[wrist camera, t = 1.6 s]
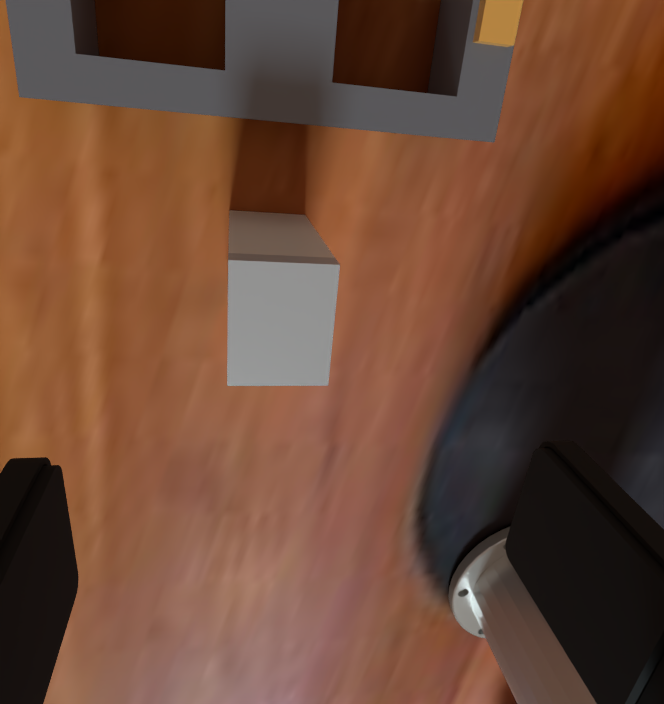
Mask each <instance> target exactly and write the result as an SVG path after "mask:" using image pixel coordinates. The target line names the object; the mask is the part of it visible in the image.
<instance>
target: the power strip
mask: <svg viewBox="0 0 664 704" xmlns="http://www.w3.org/2000/svg"><path fill="white" fill-rule="evenodd" d="M338 3H339V0H225V70H216V69H207V68H198V67H189V66H180V65H171V64H163V63H154V62H145V61H136V60H127V59H118V58H109V57H100V56H99V49H98V37H97V25H96V13H95V1H94V0H6V6H7V13H8V20H9V27H10V34H11V41H12V48H13V55H14V62H15V69H16V76H17V83H18V90H19V97H25V98H35V99H46V100H56V101H66V102H77V103H87V104H98V105H108V106H119V107H129V108H140V109H150V110H161V111H171V112H182V113H192V114H202V115H213V116H223V117H234V118H244V119H255V120H265V121H276V122H286V123H297V124H307V125H318V126H328V127H339V128H349V129H359V130H370V131H380V132H391V133H401V134H412V135H422V136H433V137H443V138H454V139H464V140H475V141H485V142H495V137H496V132H497V127H498V122H499V118H500V113H501V108H502V103H503V98H504V93H505V88H506V83H507V78H508V73H509V68H510V63H511V58H512V53H513V49H514V44H515V39H516V34H517V29H518V24H519V19H520V14H521V9H522V4H523V0H441V4H440V11H439V18H438V25H437V31H436V38H435V45H434V51H433V58H432V65H431V72H430V78H429V85H428V92H427V93H421V92H412V91H403V90H394V89H385V88H376V87H367V86H358V85H349V84H341V83H332V78H333V66H334V53H335V41H336V28H337V16H338Z"/></svg>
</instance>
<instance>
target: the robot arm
mask: <svg viewBox="0 0 664 704" xmlns="http://www.w3.org/2000/svg"><path fill="white" fill-rule="evenodd" d="M77 588H78V569H77V563H76V557H75V550H74V544H73V538H72V531H71V525H70V519H69V512H68V506H67V499H66V493H65V487H64V480H63V474H62V469H61V467H60V466H59V465H53V466H51V463H50V461H49V459H48V458H46V457H45V458H14V459H10V460H9V461H8V462H7V464H6V465H5V467H4V468H3V470H2V472H1V473H0V704H43V702H44V699H45V696H46V692H47V689H48V686H49V683H50V679H51V676H52V673H53V670H54V666H55V663H56V660H57V656H58V653H59V650H60V647H61V643H62V640H63V637H64V634H65V630H66V627H67V624H68V620H69V617H70V614H71V611H72V607H73V604H74V601H75V598H76V594H77ZM448 598H449V603H450V607H451V609H452V611H453V614H454V616H455V618H456V620H457V622H458V623H459V624H460V625H461V627H462V628H464V629H465V630H466V631H468V632H469V633H471V634H473V635H475V636H478V637H482V638H486V639H487V642H488V644H489V646H490V648H491V650H492V652H493V654H494V656H495V658H496V660H497V662H498V665H499V667H500V669H501V671H502V673H503V675H504V677H505V679H506V681H507V683H508V685H509V688H510V690H511V692H512V694H513V696H514V698H515V700H516V702H517V704H664V529H663V528H662V527H661V526H660V525H658V524H657V523H656V522H655V521H654V520H653V519H652V518H651V517H650V516H649V515H648V514H647V513H646V512H645V511H644V510H643V509H642V508H641V507H640V506H639V505H638V504H637V503H636V502H635V501H634V500H633V499H632V498H631V497H630V496H629V495H628V494H627V493H626V492H625V491H624V490H623V489H622V488H621V487H620V486H619V485H618V484H617V483H616V482H615V481H614V480H613V479H612V478H611V477H610V476H609V475H608V474H607V473H606V472H605V471H603V470H602V469H601V468H600V467H599V466H598V465H597V464H596V463H595V462H594V461H593V460H592V459H591V458H590V457H589V456H588V455H587V454H586V453H585V452H584V451H583V450H582V449H581V448H580V447H579V446H578V445H577V444H576V443H574V442H573V441H547V442H543V443H542V444H541V445H540V448H539V449H536V450H535V451H534V453H533V455H532V458H531V462H530V465H529V468H528V471H527V475H526V478H525V481H524V484H523V487H522V491H521V494H520V497H519V500H518V504H517V507H516V510H515V513H514V517H513V520H512V523H511V526H510V527H508V528H505V529H503V530H501V531H499V532H497V533H495V534H493V535H491V536H489V537H488V538H487V539H485V540H484V541H482V542H481V543H479V544H478V545H477V546H476V547H475V548H474V549H473V550H471V551H470V552H469V553H468V554H467V555H466V557H465V558H464V559H463V560H462V562H461V563H460V564H459V566H458V567H457V569H456V571H455V573H454V575H453V576H452V580H451V583H450V586H449V597H448Z"/></svg>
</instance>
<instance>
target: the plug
mask: <svg viewBox="0 0 664 704" xmlns="http://www.w3.org/2000/svg"><path fill="white" fill-rule="evenodd" d="M339 269H340V264H339V263H338V261H337V260H336V258H335V257H334V256H333V254H332V253H331V251H330V250H329V248H328V247H327V245H326V244H325V243H324V241H323V240H322V238H321V237H320V235H319V234H318V232H317V231H316V230H315V228H314V227H313V225H312V224H311V222H310V221H309V219H308V218H307V217H306V215H300V214H283V213H267V212H251V211H234V210H229V251H228V362H227V386H324V385H328V381H329V371H330V361H331V351H332V341H333V331H334V320H335V310H336V300H337V290H338V280H339Z"/></svg>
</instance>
